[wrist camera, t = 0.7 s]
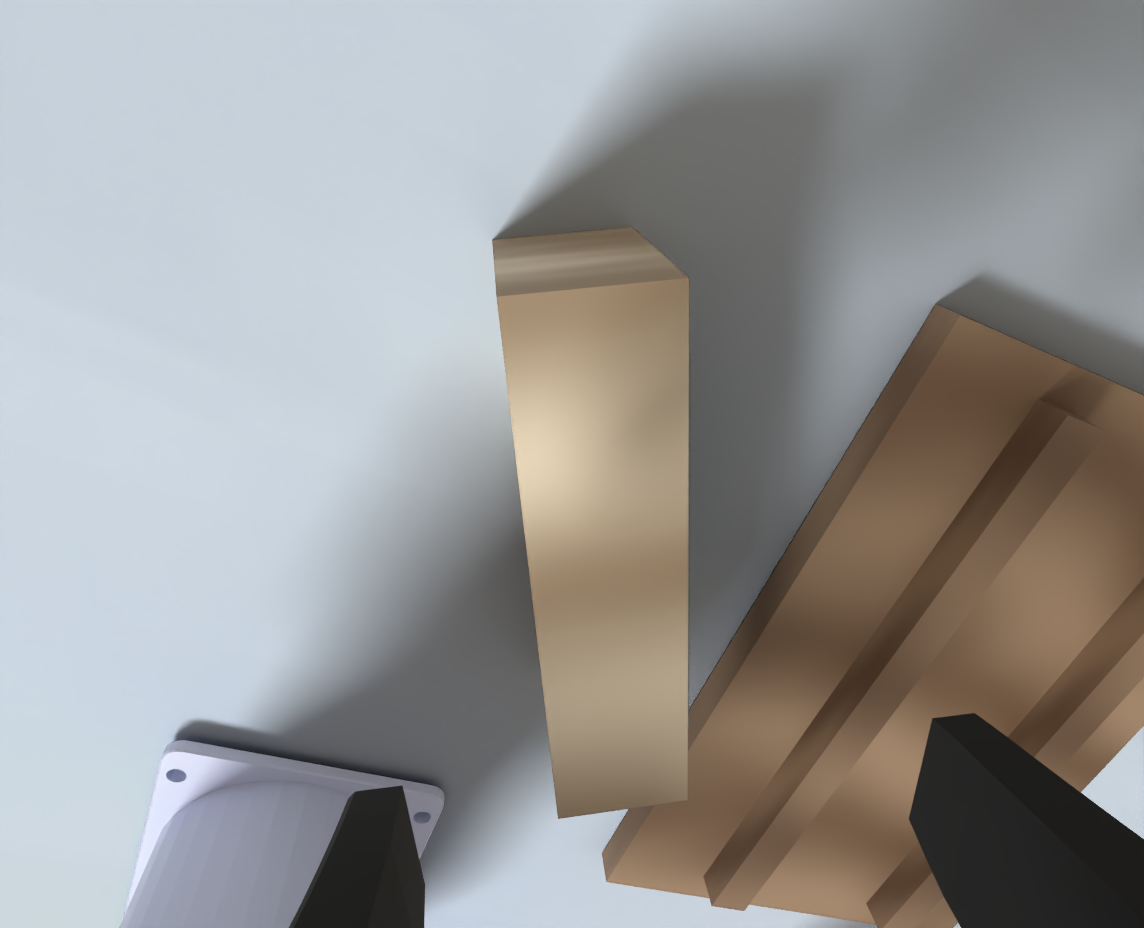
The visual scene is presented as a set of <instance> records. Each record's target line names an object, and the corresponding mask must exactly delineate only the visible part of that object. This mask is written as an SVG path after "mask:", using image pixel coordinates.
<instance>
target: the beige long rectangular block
mask: <svg viewBox="0 0 1144 928" xmlns="http://www.w3.org/2000/svg"><path fill="white" fill-rule="evenodd" d="M492 242H493V255H494V268H495V282H496V295H497V304H498V312H499V321H500V329H501V338H502V346H503V355H504V363H505V372H506V380H507V389H508V397H509V406H510V414H511V423H512V431H513V440H514V448H515V457H516V465H517V474H518V482H519V491H520V499H521V508H522V516H523V525H524V533H525V542H526V550H527V559H528V567H529V576H530V584H531V593H532V601H533V610H534V618H535V627H536V635H537V644H538V652H539V661H540V669H541V677H542V686H543V694H544V703H545V711H546V720H547V728H548V737H549V745H550V754H551V762H552V771H553V779H554V788H555V796H556V805H557V813H558V819H560V818H567V817H574V816H581V815H588V814H595V813H602V812H609V811H615V810H622V809H629V808H636V807H643V806H650V805H657V804H664V803H671V802H678V801H685V800H688V729H689V494H690V354H689V278H688V277H687V276H686V275H685V274H684V273H683V272H682V271H681V270H680V269H679V268H677V267H676V266H675V265H674V264H673V263H672V262H671V261H670V260H669V259H668V258H666V257H665V256H664V255H663V254H662V253H661V252H660V251H659V250H658V249H657V248H655V247H654V246H653V245H652V244H651V243H650V242H649V241H648V240H647V239H645V238H644V237H643V236H642V235H641V234H640V233H639V232H638V231H637V230H636V229H634V228H633V227H624V228H613V229H603V230H592V231H581V232H570V233H559V234H548V235H538V236H527V237H516V238H505V239H494V240H492Z"/></svg>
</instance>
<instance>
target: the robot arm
mask: <svg viewBox="0 0 1144 928" xmlns="http://www.w3.org/2000/svg"><path fill="white" fill-rule="evenodd" d="M176 769H179V770H182V771H179V770H176ZM443 807H444V793H443V791H442V790H441V789H440V788H438V787H436V786H433V785H428V784H423V783H417V782H412V781H406V780H401V779H395V778H390V777H384V776H379V775H373V774H368V773H362V772H357V771H351V770H346V769H341V768H335V767H330V766H324V765H319V764H313V763H308V762H302V761H297V760H291V759H286V758H280V757H275V756H269V755H264V754H258V753H253V752H248V751H242V750H237V749H231V748H226V747H220V746H215V745H209V744H204V743H198V742H193V741H187V740H179V741H174V742H172V743H170V744H169V745H167V747H166V749H165V751H164V753H163V755H162V757H161V759H160V764H159V768H158V772H157V776H156V781H155V785H154V789H153V793H152V798H151V802H150V806H149V810H148V815H147V819H146V823H145V827H144V832H143V836H142V840H141V844H140V848H139V853H138V857H137V861H136V865H135V870H134V874H133V878H132V882H131V887H130V891H129V895H128V899H127V904H126V908H125V912H124V916H123V920H122V922H121V925H120V927H119V928H424V906H425V883H424V879H423V874H422V870H421V865H420V861H419V859H420V857H421V855H422V853H423V851H424V849H425V846H426V844H427V842H428V840H429V838H430V836H431V833H432V831H433V829H434V827H435V825H436V823H437V820H438V818H439V816H440V814H441V812H442V810H443ZM909 821H910V823H911V825H912V827H913V830H914V832H915V834H916V837H917V839H918V841H919V844H920V846H921V848H922V851H923V853H924V855H925V858H926V860H927V862H928V864H929V866H930V868H931V871H932V873H933V875H934V877H935V879H936V881H937V884H938V886H939V888H940V890H941V892H942V894H943V896H944V898H945V900H946V902H947V904H948V905H949V907H950V909H951V911H952V912H953V914H954V916H955V918H956V919H957V921H958V923H959V925H960V926H961V928H1144V839H1143V838H1141V837H1140V836H1138V835H1137V834H1136V833H1134V832H1133V831H1132V830H1130V829H1129V828H1127V827H1126V826H1125V825H1123V824H1122V823H1121V822H1119V821H1118V820H1117V819H1115V818H1114V817H1113V816H1111V815H1110V814H1109V813H1107V812H1106V811H1104V810H1103V809H1102V808H1100V807H1099V806H1098V805H1096V804H1095V803H1094V802H1092V801H1091V800H1090V799H1088V798H1087V797H1086V796H1084V795H1083V794H1082V793H1080V792H1079V791H1078V790H1076V789H1075V788H1074V787H1073V786H1071V785H1070V784H1069V783H1067V782H1066V781H1065V780H1063V779H1062V778H1061V777H1059V776H1058V775H1057V774H1055V773H1054V772H1053V771H1051V770H1050V769H1049V768H1047V767H1046V766H1045V765H1043V764H1042V763H1041V762H1040V761H1038V760H1037V759H1036V758H1034V757H1033V756H1032V755H1030V754H1029V753H1028V752H1026V751H1025V750H1024V749H1022V748H1021V747H1020V746H1019V745H1017V744H1016V743H1015V742H1013V741H1012V740H1011V739H1009V738H1008V737H1007V736H1005V735H1004V734H1003V733H1001V732H1000V731H999V730H997V729H996V728H995V727H993V726H992V725H991V724H989V723H988V722H986V721H985V720H984V719H982V718H981V717H980V716H978V715H977V714H975V713H970V714H962V715H954V716H946V717H938V718H932V722H931V726H930V730H929V734H928V739H927V743H926V747H925V751H924V756H923V760H922V764H921V769H920V773H919V777H918V781H917V786H916V790H915V794H914V798H913V803H912V807H911V811H910V815H909Z"/></svg>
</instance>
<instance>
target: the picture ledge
mask: <svg viewBox="0 0 1144 928" xmlns="http://www.w3.org/2000/svg"><path fill="white" fill-rule="evenodd" d="M970 713H975V714H977V715H978V716H980V717H981V718H982V719H984V720H985V721H986V722H988V723H989V724H991V725H992V726H993V727H995V728H996V729H997V730H999V731H1000V732H1001V733H1003V734H1004V735H1005V736H1007V737H1008V738H1009V739H1011V740H1012V741H1013V742H1015V743H1016V744H1017V745H1019V746H1020V747H1021V748H1022V749H1024V750H1025V751H1026V752H1028V753H1029V754H1030V755H1032V756H1033V757H1034V758H1036V759H1037V760H1038V761H1040V762H1041V763H1042V764H1043V765H1045V766H1046V767H1047V768H1049V769H1050V770H1051V771H1053V772H1054V773H1055V774H1057V775H1058V776H1059V777H1061V778H1062V779H1063V780H1065V781H1066V782H1067V783H1069V784H1070V785H1071V786H1073V787H1074V788H1075V789H1076V790H1078V791H1079V792H1080V793H1081V791H1082V790H1083V789H1084V788H1085V787H1086V786H1087V785H1088V784H1089V783H1090V782H1091V781H1092V780H1093V779H1094V778H1095V777H1096V776H1097V775H1098V773H1099V772H1100V771H1101V770H1102V769H1103V768H1104V767H1105V766H1106V765H1107V764H1108V763H1109V762H1110V761H1111V760H1112V759H1113V758H1114V757H1115V755H1116V754H1117V753H1118V752H1119V751H1120V750H1121V749H1122V748H1123V747H1124V746H1125V745H1126V744H1127V743H1128V742H1129V741H1130V740H1131V739H1132V737H1133V736H1134V735H1135V734H1136V733H1137V732H1138V731H1139V730H1140V729H1141V728H1142V727H1143V726H1144V395H1142V394H1140V393H1138V392H1135V391H1133V390H1131V389H1128V388H1126V387H1124V386H1122V385H1119V384H1117V383H1115V382H1112V381H1110V380H1108V379H1106V378H1103V377H1101V376H1099V375H1097V374H1094V373H1092V372H1090V371H1087V370H1085V369H1083V368H1081V367H1078V366H1076V365H1074V364H1072V363H1069V362H1067V361H1065V360H1062V359H1060V358H1058V357H1056V356H1053V355H1051V354H1049V353H1046V352H1044V351H1042V350H1040V349H1037V348H1035V347H1033V346H1031V345H1028V344H1026V343H1024V342H1021V341H1019V340H1017V339H1015V338H1012V337H1010V336H1008V335H1006V334H1003V333H1001V332H999V331H996V330H994V329H992V328H990V327H987V326H985V325H983V324H980V323H978V322H976V321H974V320H971V319H969V318H967V317H965V316H962V315H960V314H958V313H955V312H953V311H951V310H949V309H946V308H944V307H942V306H940V305H937V304H936V305H935V306H934V308H933V310H932V311H931V313H930V314H929V316H928V318H927V319H926V321H925V323H924V324H923V326H922V328H921V329H920V331H919V333H918V334H917V336H916V338H915V339H914V341H913V342H912V344H911V346H910V347H909V349H908V351H907V352H906V354H905V356H904V357H903V359H902V361H901V362H900V364H899V366H898V367H897V369H896V370H895V372H894V374H893V375H892V377H891V379H890V380H889V382H888V384H887V385H886V387H885V389H884V390H883V392H882V394H881V395H880V397H879V398H878V400H877V402H876V403H875V405H874V407H873V408H872V410H871V412H870V413H869V415H868V417H867V418H866V420H865V422H864V423H863V425H862V426H861V428H860V430H859V431H858V433H857V435H856V436H855V438H854V440H853V441H852V443H851V445H850V446H849V448H848V450H847V451H846V453H845V454H844V456H843V458H842V459H841V461H840V463H839V464H838V466H837V468H836V469H835V471H834V473H833V474H832V476H831V478H830V479H829V481H828V482H827V484H826V486H825V487H824V489H823V491H822V492H821V494H820V496H819V497H818V499H817V501H816V502H815V504H814V505H813V507H812V509H811V510H810V512H809V514H808V515H807V517H806V519H805V520H804V522H803V524H802V525H801V527H800V529H799V530H798V532H797V533H796V535H795V537H794V538H793V540H792V542H791V543H790V545H789V547H788V548H787V550H786V552H785V553H784V555H783V557H782V558H781V560H780V561H779V563H778V565H777V566H776V568H775V570H774V571H773V573H772V575H771V576H770V578H769V580H768V581H767V583H766V585H765V586H764V588H763V589H762V591H761V593H760V594H759V596H758V598H757V599H756V601H755V603H754V604H753V606H752V608H751V609H750V611H749V613H748V614H747V616H746V617H745V619H744V621H743V622H742V624H741V626H740V627H739V629H738V631H737V632H736V634H735V636H734V637H733V639H732V641H731V642H730V644H729V645H728V647H727V649H726V650H725V652H724V654H723V655H722V657H721V659H720V660H719V662H718V664H717V665H716V667H715V669H714V670H713V672H712V673H711V675H710V677H709V678H708V680H707V682H706V683H705V685H704V687H703V688H702V690H701V692H700V693H699V695H698V697H697V698H696V700H695V701H694V703H693V705H692V706H691V708H690V710H689V729H688V800H685V801H678V802H671V803H664V804H657V805H650V806H643V807H636V808H630V809H629V810H628V812H627V813H626V815H625V817H624V818H623V820H622V822H621V823H620V825H619V827H618V828H617V830H616V832H615V833H614V835H613V837H612V838H611V840H610V841H609V843H608V845H607V846H606V848H605V850H604V851H603V853H602V857H603V863H604V869H605V876H606V882H610V883H616V884H623V885H629V886H635V887H642V888H648V889H654V890H661V891H667V892H673V893H680V894H686V895H692V896H699V897H705V898H710V901H711V905H712V906H715V907H722V908H728V909H735V910H741V911H744V910H745V909H746V908H747V906H748V905H749V904H750V905H756V906H762V907H769V908H775V909H781V910H788V911H794V912H800V913H807V914H813V915H819V916H826V917H832V918H838V919H845V920H851V921H857V922H864V923H870V924H876V925H877V928H953V927H954V926H955V925H956V924H957V923H958V921H957V919H956V918H955V916H954V914H953V912H952V911H951V909H950V907H949V905H948V904H947V902H946V900H945V898H944V896H943V894H942V892H941V890H940V888H939V886H938V884H937V881H936V879H935V877H934V875H933V873H932V871H931V868H930V866H929V864H928V862H927V860H926V858H925V855H924V853H923V851H922V848H921V846H920V844H919V841H918V839H917V837H916V834H915V832H914V830H913V827H912V825H911V823H910V821H909V815H910V811H911V807H912V803H913V798H914V794H915V790H916V786H917V781H918V777H919V773H920V769H921V764H922V760H923V756H924V751H925V747H926V743H927V739H928V734H929V730H930V726H931V722H932V718H938V717H946V716H954V715H962V714H970Z"/></svg>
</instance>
